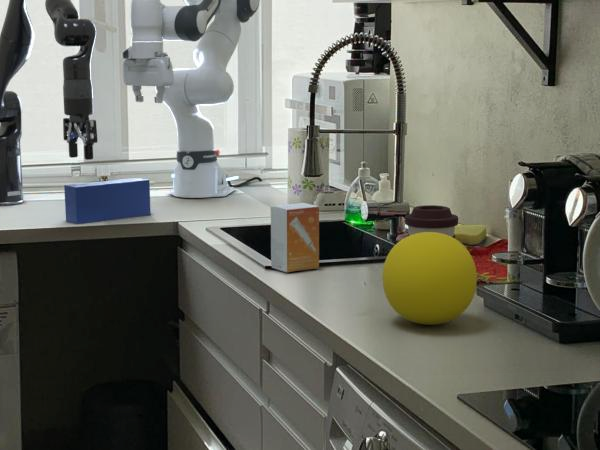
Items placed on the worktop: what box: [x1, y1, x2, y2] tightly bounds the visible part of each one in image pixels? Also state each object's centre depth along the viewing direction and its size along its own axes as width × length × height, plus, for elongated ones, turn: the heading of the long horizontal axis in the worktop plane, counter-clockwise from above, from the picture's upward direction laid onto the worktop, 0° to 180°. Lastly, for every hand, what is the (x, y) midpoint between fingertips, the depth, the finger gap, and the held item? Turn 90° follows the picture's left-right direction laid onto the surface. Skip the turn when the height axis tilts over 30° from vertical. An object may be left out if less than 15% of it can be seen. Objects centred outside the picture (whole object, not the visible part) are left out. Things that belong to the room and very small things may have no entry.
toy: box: [381, 232, 478, 326], centre depth 170 cm, size 15×15×15 cm
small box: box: [270, 202, 320, 273], centre depth 214 cm, size 8×6×13 cm
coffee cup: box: [404, 204, 459, 239], centre depth 197 cm, size 10×10×15 cm
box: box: [63, 177, 152, 225], centre depth 282 cm, size 22×6×10 cm, turn 130°
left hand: (81, 158), depth 276 cm, fingers open, 8 cm apart
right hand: (149, 102), depth 293 cm, fingers open, 8 cm apart
